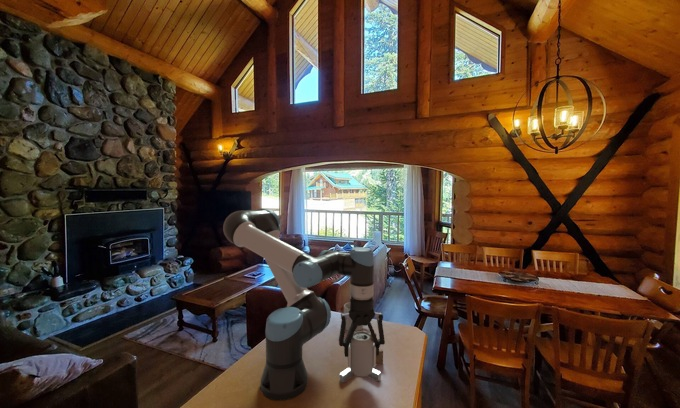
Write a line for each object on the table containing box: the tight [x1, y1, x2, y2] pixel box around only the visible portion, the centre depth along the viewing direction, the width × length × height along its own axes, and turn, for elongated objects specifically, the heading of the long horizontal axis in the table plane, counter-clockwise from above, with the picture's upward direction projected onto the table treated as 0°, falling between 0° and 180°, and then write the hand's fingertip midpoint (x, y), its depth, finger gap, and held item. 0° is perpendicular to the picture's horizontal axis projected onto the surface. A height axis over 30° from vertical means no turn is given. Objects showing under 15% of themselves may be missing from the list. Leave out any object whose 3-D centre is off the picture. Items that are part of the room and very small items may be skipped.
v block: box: [339, 367, 382, 384], centre depth 98 cm, size 14×8×2 cm, turn 94°
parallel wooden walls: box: [368, 332, 384, 366], centre depth 110 cm, size 9×13×5 cm
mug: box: [343, 302, 365, 332], centre depth 132 cm, size 11×10×10 cm
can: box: [350, 330, 374, 378], centre depth 93 cm, size 8×8×12 cm
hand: (361, 364), depth 93 cm, fingers closed on can, 7 cm apart
